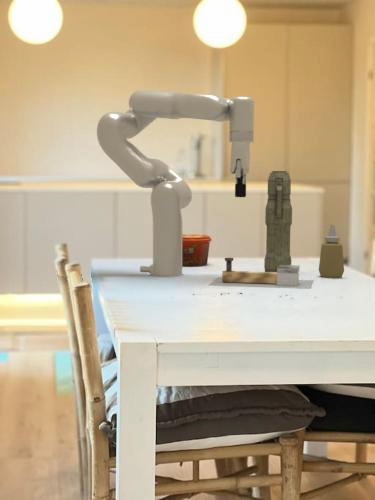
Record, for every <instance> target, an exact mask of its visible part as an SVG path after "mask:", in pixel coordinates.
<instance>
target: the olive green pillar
mask: <svg viewBox="0 0 375 500" xmlns="http://www.w3.org/2000/svg"><path fill="white" fill-rule="evenodd" d="M271 171H272V172H269V176H268V178H267V199H266V200H267V201H266V202H267V203H266V205H265V211H264V212H265V214H264V215H265V217H264V219H265V220H264V221H265V222H264V223H265V226H266V235H265V236H266V238H265V239H266V241H265V242H266V248H265V249H266V250H265V255H264V256H265V257H264V264H263V265H264V267H263V268H264V272H277V268H278V266H279V265H292V258H291V226H292V225H293V207H292V203H291V188H292V186H291V184H292V180H291V176H290V172H287V170H271Z"/></svg>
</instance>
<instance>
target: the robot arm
mask: <svg viewBox="0 0 375 500" xmlns="http://www.w3.org/2000/svg"><path fill="white" fill-rule="evenodd" d="M128 107H129V109H128V110H126V112H119V111H111V112H106V113H105V114H103V115H102V116H101V117H100V119H99V120H98V123H97V125H96V126H97V127H96V137H97V141H98V144H99V147H100V148H101V150H102V151H103V152H104V154H105V155H107V157H108V158H109V159H110V160H112V162H114V164H116V166H117V167H118V168H119V169H120V170H121V171H122V172H123V173H124V174H125V175H126V176H127V177H128V178H129V179H130V180H131V181H132V182H133V183H134V184H135V185H137V187H140V188H142V189H152V190H151V193H150V206H151V212H152V213H151V214H152V264H150V266H146V265H145V266H143V265H141V266H140V267H139V271H140V273H149V274H148V276H149V277H151V276H152V277H153V276H154V277H155V276H156V277H166V278H167V277H168V278H170V277H181V276H185V274H183V266H182V235H183V215H182V212H181V211H182V210H183V209H185V208H186V207H188V206H189V205H190V204H191V202H192V196H193V193H192V190H191V188H190V186H189V184H188V183H187V182H186V181H185V180H183V178H182V177H181V176H180V175H179V174H178V173H177V172H175V171H174V170H173V169H172V168H171V167H170V166H169V165H168V164H167V163H166V162H164V161H162V160H160V159H157V158H150V157H147V156H146V155H145V154H144V153H143V152H142V151H140V149H139V148H137V146H135V145H134V144H133V143H132V142H131V141H129V140H130V139H132V138H134V137H136V136H137V135H139V134H140V133H141V132H142V131H144V129H146V128H148V126H149V125H151V123H153V122H154V121H155V120H156V119H157V118H159V119H166V120H167V119H169V120H170V119H171V120H180V119H192V120H193V119H194V120H206V121H213V122H221V123H222V122H228V121H229V122H228V125H229V126H228V130H229V131H228V133H229V134H228V143H231V147H230V161H229V162H230V164H229V165H230V169H229V173H230V174H231V175H235V185H234V187H235V188H234V197H235V198H247V183H246V182H247V174H249V172H250V159H251V158H250V157H251V156H250V155H251V152H250V151H251V150H250V149H251V147H250V146H251V144H250V143H254V128H255V127H254V126H255V125H254V123H255V120H254V119H255V115H254V114H255V101H254V99H253V98H252V97H250V96H234V97H232V98H227V97H226V98H225V97H221V96H217V95H213V94H212V95H211V94H197V93H183V92H179V91H167V90H166V91H165V90H153V89H138V90H135V91H134V92H133V93H132V94H130V96H129V99H128Z"/></svg>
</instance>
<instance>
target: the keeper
mask: <svg viewBox="0 0 375 500" xmlns="http://www.w3.org/2000/svg"><path fill="white" fill-rule="evenodd" d="M299 271H300V265H297V264H296V265H293V264H291V265H279V266H278V268H277V286H298V273H299Z"/></svg>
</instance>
